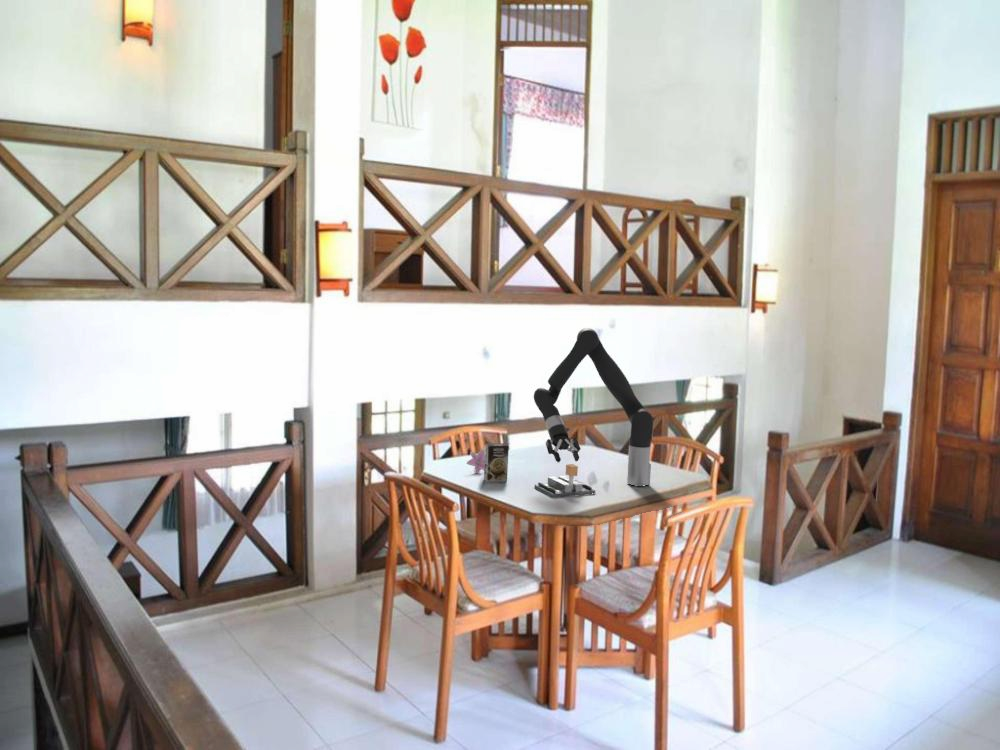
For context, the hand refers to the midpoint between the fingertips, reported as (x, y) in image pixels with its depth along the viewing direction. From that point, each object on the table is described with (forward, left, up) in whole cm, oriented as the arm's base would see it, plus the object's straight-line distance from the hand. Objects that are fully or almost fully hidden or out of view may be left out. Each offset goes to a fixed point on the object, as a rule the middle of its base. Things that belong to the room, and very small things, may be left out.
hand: (568, 460), depth 341 cm
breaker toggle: (-1, +3, -11) cm, 12 cm away
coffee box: (+28, -19, -14) cm, 36 cm away
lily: (+33, -35, -14) cm, 50 cm away
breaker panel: (+1, -2, -13) cm, 13 cm away
